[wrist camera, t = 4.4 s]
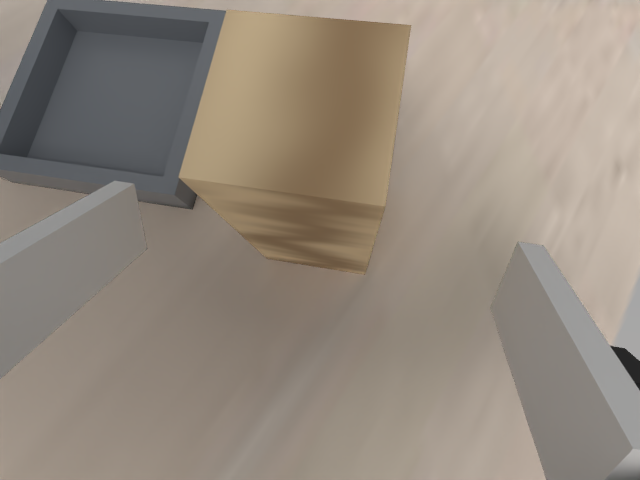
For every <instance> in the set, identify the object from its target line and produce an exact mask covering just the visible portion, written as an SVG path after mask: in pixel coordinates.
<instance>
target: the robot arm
mask: <svg viewBox="0 0 640 480" xmlns="http://www.w3.org/2000/svg"><path fill="white" fill-rule="evenodd" d="M146 249H147V244H146V239H145V234H144V229H143V224H142V219H141V214H140V209H139V204H138V199H137V195H136V190H135V185H134V184H133V183H127V182H120V181H113V182H111V183H110V184H108V185H106V186H104V187H102V188H100V189H99V190H97V191H95V192H93V193H91V194H89V195H88V196H86V197H84V198H82V199H80V200H78V201H77V202H75V203H73V204H71V205H69V206H67V207H66V208H64V209H62V210H60V211H58V212H56V213H55V214H53V215H51V216H49V217H47V218H45V219H43V220H42V221H40V222H38V223H36V224H34V225H32V226H31V227H29V228H27V229H25V230H23V231H21V232H20V233H18V234H16V235H14V236H12V237H10V238H9V239H7V240H5V241H3V242H1V243H0V379H1V378H2V377H3V376H4V375H5V374H6V373H8V372H9V371H10V370H11V369H12V368H13V367H14V366H16V365H17V364H18V363H19V362H20V361H21V360H22V359H23V358H25V357H26V356H27V355H28V354H29V353H30V352H31V351H32V350H34V349H35V348H36V347H37V346H38V345H39V344H40V343H41V342H43V341H44V340H45V339H46V338H47V337H48V336H49V335H50V334H52V333H53V332H54V331H55V330H56V329H57V328H58V327H59V326H61V325H62V324H63V323H64V322H65V321H66V320H67V319H68V318H70V317H71V316H72V315H73V314H74V313H75V312H76V311H78V310H79V309H80V308H81V307H82V306H83V305H84V304H85V303H87V302H88V301H89V300H90V299H91V298H92V297H93V296H94V295H96V294H97V293H98V292H99V291H100V290H101V289H102V288H103V287H105V286H106V285H107V284H108V283H109V282H110V281H111V280H112V279H114V278H115V277H116V276H117V275H118V274H119V273H120V272H121V271H123V270H124V269H125V268H126V267H127V266H128V265H129V264H131V263H132V262H133V261H134V260H135V259H136V258H137V257H138V256H140V255H141V254H142V253H143V252H144V251H145V250H146ZM490 309H491V312H492V315H493V318H494V321H495V324H496V327H497V330H498V333H499V336H500V339H501V342H502V345H503V349H504V352H505V355H506V358H507V361H508V364H509V367H510V370H511V373H512V376H513V379H514V382H515V385H516V388H517V391H518V394H519V397H520V400H521V403H522V406H523V410H524V413H525V416H526V419H527V422H528V425H529V428H530V431H531V434H532V437H533V440H534V443H535V446H536V449H537V452H538V455H539V458H540V461H541V464H542V467H543V470H544V474H545V477H546V480H640V361H639V360H638V359H636V358H635V357H634V356H633V355H632V354H631V353H630V352H628V351H627V350H626V349H625V348H619V347H614V346H610V345H609V344H608V342H607V341H606V339H605V337H604V336H603V334H602V333H601V331H600V330H599V328H598V327H597V325H596V324H595V322H594V321H593V319H592V318H591V316H590V315H589V313H588V312H587V310H586V309H585V307H584V306H583V304H582V303H581V301H580V300H579V298H578V297H577V295H576V294H575V292H574V291H573V289H572V288H571V286H570V285H569V283H568V282H567V280H566V279H565V277H564V276H563V274H562V273H561V271H560V270H559V268H558V267H557V265H556V264H555V262H554V261H553V259H552V258H551V256H550V255H549V253H548V252H547V250H546V249H545V247H544V246H543V245H537V244H530V243H524V242H517V245H516V247H515V250H514V252H513V254H512V257H511V259H510V262H509V264H508V266H507V269H506V271H505V274H504V276H503V278H502V281H501V283H500V286H499V288H498V290H497V293H496V295H495V297H494V300H493V302H492V305H491V307H490Z"/></svg>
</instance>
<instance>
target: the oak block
mask: <svg viewBox="0 0 640 480" xmlns="http://www.w3.org/2000/svg"><path fill="white" fill-rule="evenodd" d="M410 30H411V25H402V24H390V23H378V22H366V21H355V20H343V19H331V18H319V17H307V16H295V15H284V14H272V13H260V12H248V11H236V10H226V14H225V17H224V21H223V24H222V28H221V31H220V34H219V38H218V41H217V45H216V48H215V52H214V55H213V59H212V62H211V66H210V69H209V73H208V76H207V80H206V83H205V87H204V90H203V94H202V97H201V100H200V104H199V107H198V111H197V114H196V118H195V121H194V125H193V128H192V132H191V135H190V139H189V142H188V146H187V149H186V153H185V156H184V160H183V163H182V166H181V170H180V173H179V178H180V179H181V180H182V181H183V182H184V183H185V184H186V185H187V186H188V187H190V188H191V189H192V190H193V191H194V192H195V193H196V194H197V195H198V196H199V197H200V198H202V199H203V200H204V201H205V202H206V203H207V204H208V205H209V206H210V207H211V208H212V209H213V210H215V211H216V212H217V213H218V214H219V215H220V216H221V217H222V218H223V219H224V220H225V221H227V222H228V223H229V224H230V225H231V226H232V227H233V228H234V229H235V230H236V231H237V232H238V233H240V234H241V235H242V236H243V237H244V238H245V239H246V240H247V241H248V242H249V243H250V244H251V245H253V246H254V247H255V248H256V249H257V250H258V251H259V252H260V253H261V254H262V255H263V256H265V257H266V258H267V259H272V260H279V261H285V262H291V263H297V264H303V265H309V266H315V267H321V268H328V269H334V270H340V271H346V272H352V273H358V274H364V275H365V273H366V269H367V266H368V263H369V259H370V256H371V253H372V249H373V246H374V243H375V239H376V236H377V233H378V229H379V226H380V223H381V219H382V216H383V213H384V209H385V205H386V198H387V191H388V184H389V177H390V170H391V163H392V156H393V149H394V142H395V135H396V128H397V121H398V114H399V107H400V100H401V93H402V86H403V79H404V72H405V65H406V58H407V51H408V44H409V37H410Z"/></svg>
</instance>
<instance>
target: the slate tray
mask: <svg viewBox="0 0 640 480" xmlns="http://www.w3.org/2000/svg"><path fill="white" fill-rule="evenodd" d="M225 14H226V11H222V10H211V9H199V8H187V7H175V6H163V5H151V4H139V3H127V2H115V1H103V0H47V3H46V5H45V7H44V10H43V12H42V14H41V17H40V19H39V21H38V24H37V26H36V28H35V31H34V33H33V35H32V37H31V40H30V42H29V44H28V47H27V49H26V51H25V54H24V56H23V58H22V61H21V63H20V65H19V68H18V70H17V72H16V75H15V77H14V79H13V82H12V84H11V86H10V89H9V91H8V93H7V96H6V98H5V100H4V102H3V105H2V107H1V109H0V177H2V178H4V179H6V180H8V181H11V182H14V183H21V184H27V185H34V186H41V187H47V188H54V189H60V190H67V191H74V192H80V193H87V194H91V193H93V192H95V191H97V190H99V189H100V188H102V187H104V186H106V185H108V184H110V183H111V182H113V181H120V182H127V183H133V184H134V185H135V190H136V195H137V199H138V201H140V202H147V203H153V204H160V205H167V206H173V207H180V208H186V209H193V206H194V202H195V198H196V195H197V194H196V193H195V192H194V191H193V190H192V189H191V188H190V187H188V186H187V185H186V184H185V183H184V182H183V181H182V180H181V179H180V178H179V173H180V170H181V166H182V163H183V160H184V156H185V153H186V149H187V146H188V142H189V139H190V135H191V132H192V128H193V125H194V121H195V118H196V114H197V111H198V107H199V104H200V100H201V97H202V94H203V90H204V87H205V83H206V80H207V76H208V73H209V69H210V66H211V62H212V59H213V55H214V52H215V48H216V45H217V41H218V38H219V34H220V31H221V28H222V24H223V21H224V17H225Z"/></svg>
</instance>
